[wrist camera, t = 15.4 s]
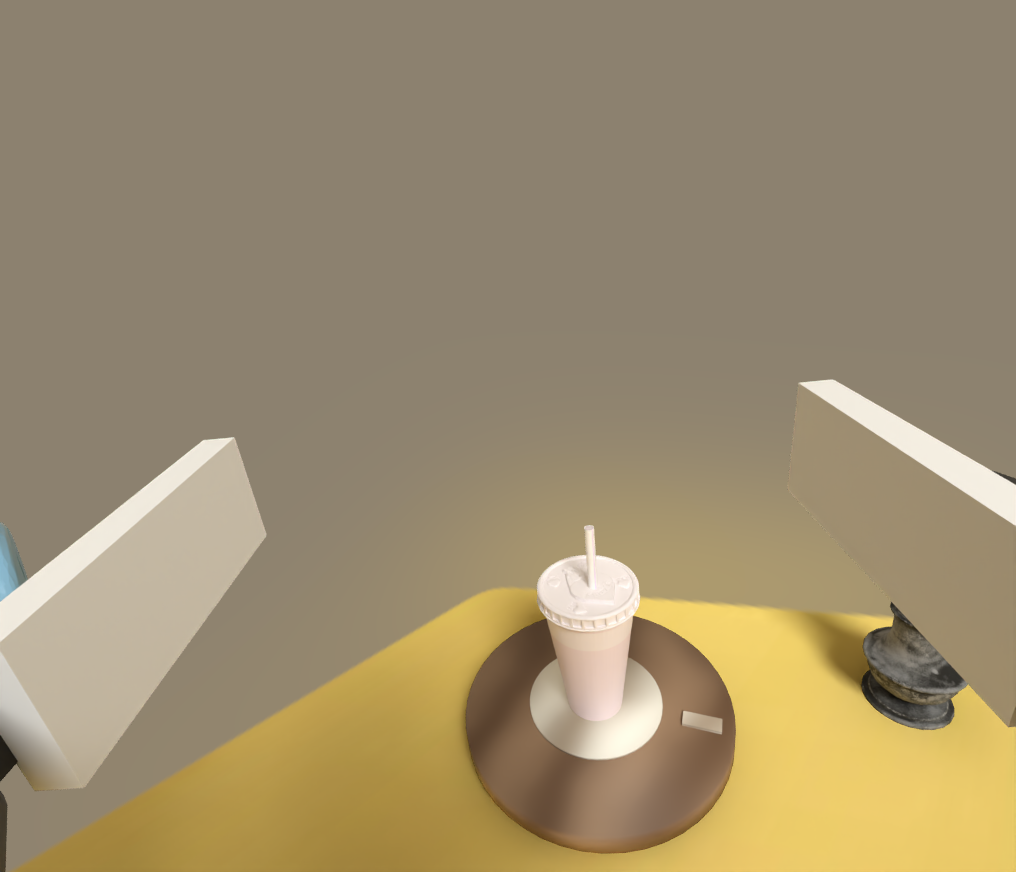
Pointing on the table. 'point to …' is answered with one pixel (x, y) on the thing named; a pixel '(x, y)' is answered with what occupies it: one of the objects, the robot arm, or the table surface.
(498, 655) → the turntable
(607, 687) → the smoothie
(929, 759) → the table surface
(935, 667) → the salt shaker
